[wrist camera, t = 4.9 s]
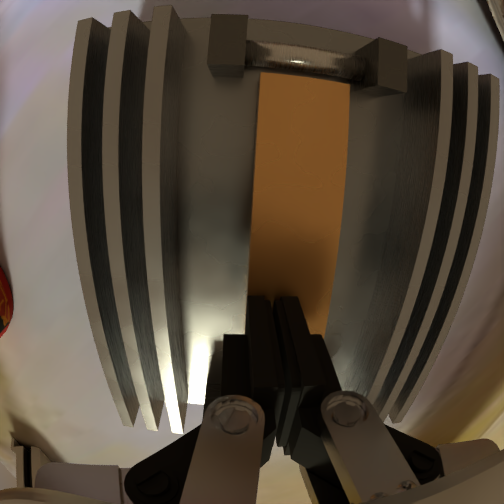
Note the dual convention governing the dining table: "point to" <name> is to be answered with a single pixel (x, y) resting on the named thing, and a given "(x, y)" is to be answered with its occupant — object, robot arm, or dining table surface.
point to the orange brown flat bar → (298, 191)
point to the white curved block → (27, 464)
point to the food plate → (498, 14)
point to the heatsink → (240, 199)
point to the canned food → (5, 303)
